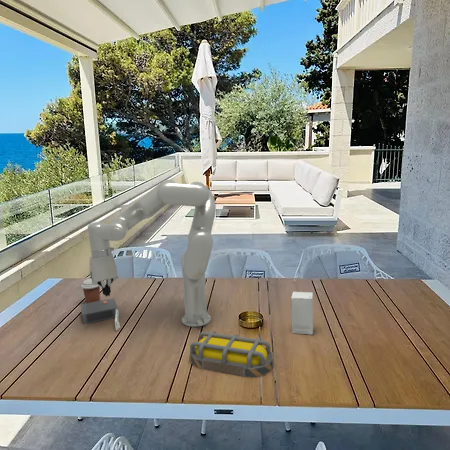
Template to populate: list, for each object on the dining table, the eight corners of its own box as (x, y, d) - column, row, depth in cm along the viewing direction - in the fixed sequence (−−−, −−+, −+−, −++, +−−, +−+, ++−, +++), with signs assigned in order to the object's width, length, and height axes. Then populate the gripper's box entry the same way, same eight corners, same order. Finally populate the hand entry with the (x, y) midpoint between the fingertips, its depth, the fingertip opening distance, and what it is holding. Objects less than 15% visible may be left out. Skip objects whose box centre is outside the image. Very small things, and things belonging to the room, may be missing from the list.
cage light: (266, 359, 127) (181, 345, 138) (266, 381, 129) (183, 366, 139) (276, 337, 140) (199, 326, 151) (277, 357, 142) (200, 345, 153)
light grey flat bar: (120, 316, 179) (119, 308, 178) (120, 329, 167) (119, 321, 166) (116, 316, 179) (115, 308, 178) (115, 330, 166) (114, 321, 165)
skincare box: (313, 327, 162) (314, 292, 159) (312, 335, 156) (313, 298, 152) (293, 326, 164) (292, 290, 161) (291, 333, 158) (291, 297, 155)
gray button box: (118, 317, 179) (117, 306, 178) (83, 324, 173) (82, 313, 172) (114, 305, 192) (113, 295, 191) (81, 312, 186) (80, 302, 185)
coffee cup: (79, 307, 192) (76, 283, 189) (90, 299, 200) (87, 277, 198) (96, 308, 189) (93, 284, 187) (106, 300, 198) (103, 277, 195)
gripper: (116, 247, 168) (121, 287, 172) (79, 254, 160) (86, 297, 164) (122, 250, 162) (127, 292, 166) (84, 258, 154) (91, 302, 158)
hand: (107, 295), depth 165 cm, fingers closed
